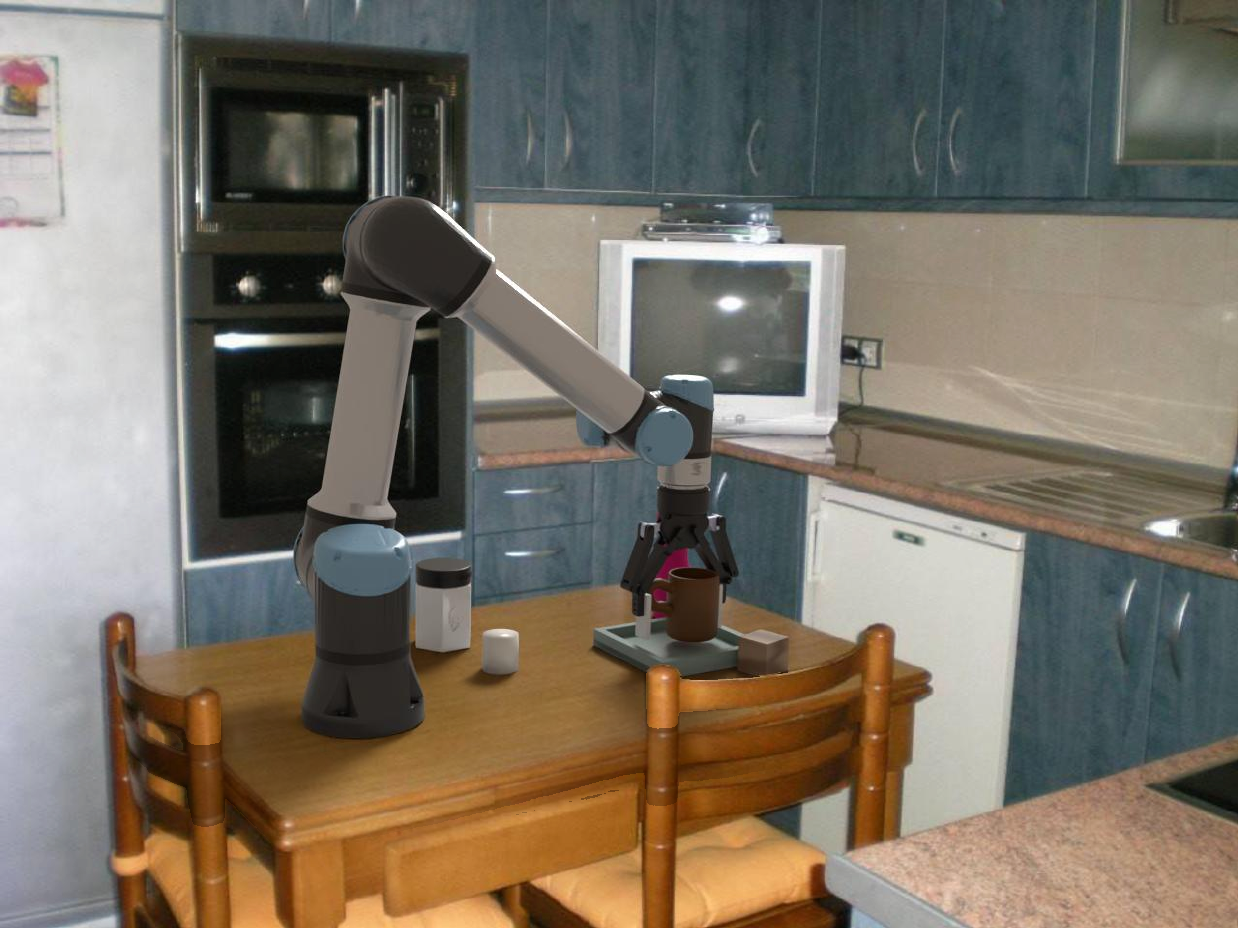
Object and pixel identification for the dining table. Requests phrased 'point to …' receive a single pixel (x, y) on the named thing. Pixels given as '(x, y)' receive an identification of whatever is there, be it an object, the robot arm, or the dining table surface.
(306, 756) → the dining table surface
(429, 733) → the dining table surface
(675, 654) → the tray
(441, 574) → the jar
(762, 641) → the block
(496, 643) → the white rounded cylinder
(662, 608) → the mug
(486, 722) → the dining table surface
